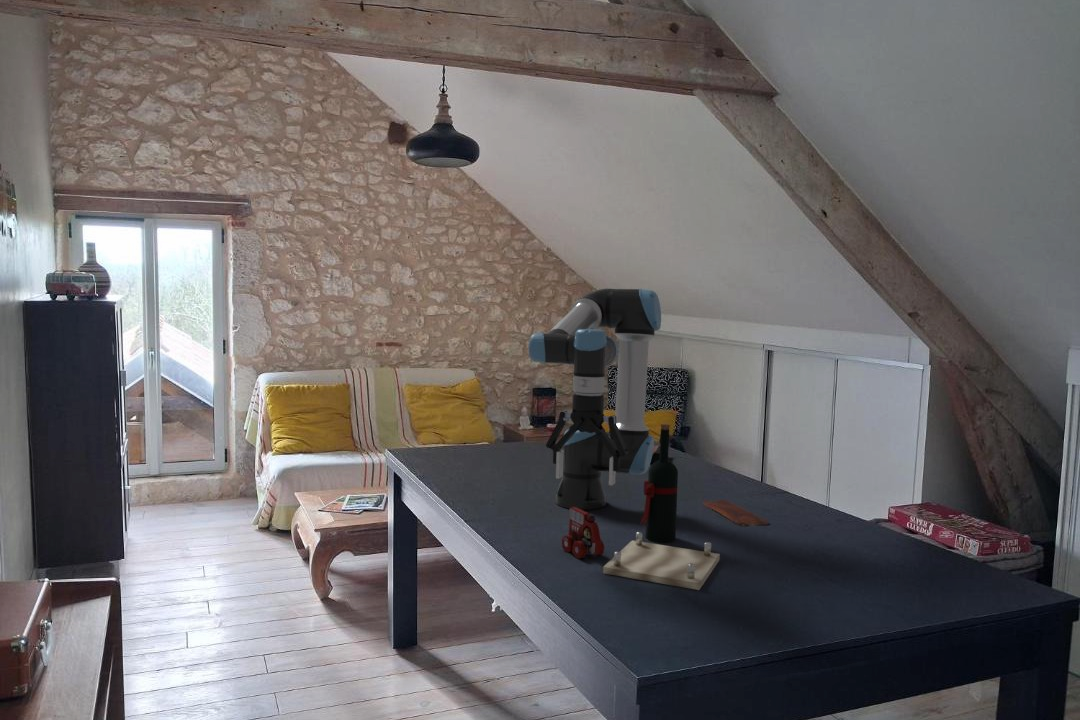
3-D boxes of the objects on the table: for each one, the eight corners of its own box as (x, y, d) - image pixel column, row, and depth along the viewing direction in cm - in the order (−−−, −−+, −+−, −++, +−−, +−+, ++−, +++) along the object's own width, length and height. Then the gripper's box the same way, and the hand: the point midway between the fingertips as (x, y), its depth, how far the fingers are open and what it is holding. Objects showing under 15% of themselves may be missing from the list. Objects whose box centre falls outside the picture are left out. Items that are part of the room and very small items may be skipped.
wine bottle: (632, 537, 212) (636, 423, 209) (662, 532, 217) (667, 421, 214) (651, 545, 205) (656, 428, 202) (682, 540, 210) (687, 426, 208)
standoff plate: (603, 573, 184) (603, 553, 184) (631, 546, 204) (632, 528, 204) (699, 590, 175) (700, 569, 175) (719, 560, 196) (720, 541, 195)
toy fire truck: (584, 563, 191) (586, 520, 190) (557, 548, 202) (559, 507, 201) (609, 559, 194) (610, 516, 193) (581, 544, 205) (582, 504, 204)
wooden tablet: (771, 527, 227) (772, 521, 227) (739, 528, 224) (739, 522, 224) (727, 501, 253) (728, 496, 252) (698, 502, 250) (698, 497, 250)
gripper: (534, 391, 196) (531, 477, 198) (633, 399, 186) (630, 490, 188) (546, 388, 203) (544, 471, 204) (643, 396, 193) (639, 483, 195)
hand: (585, 480), depth 196 cm, fingers open, 13 cm apart
